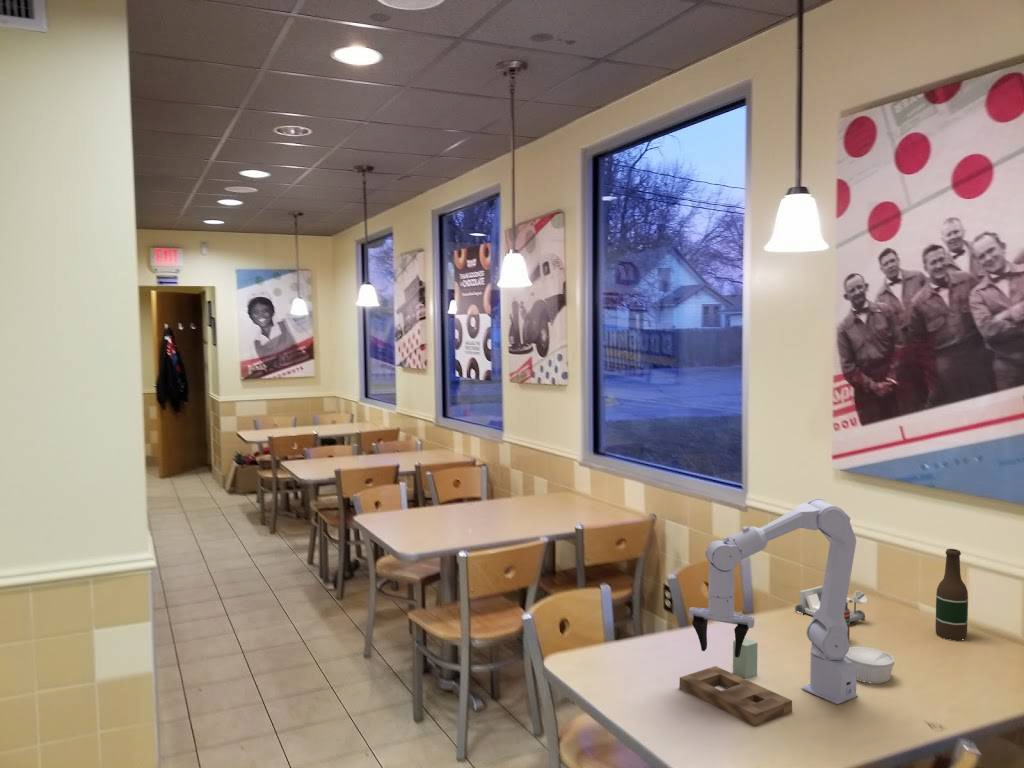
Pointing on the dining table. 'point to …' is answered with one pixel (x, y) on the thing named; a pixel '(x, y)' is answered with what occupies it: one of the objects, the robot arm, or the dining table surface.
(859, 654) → the ramekin
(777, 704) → the socket board
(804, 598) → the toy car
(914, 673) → the dining table surface
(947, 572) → the beer bottle
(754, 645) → the peg
